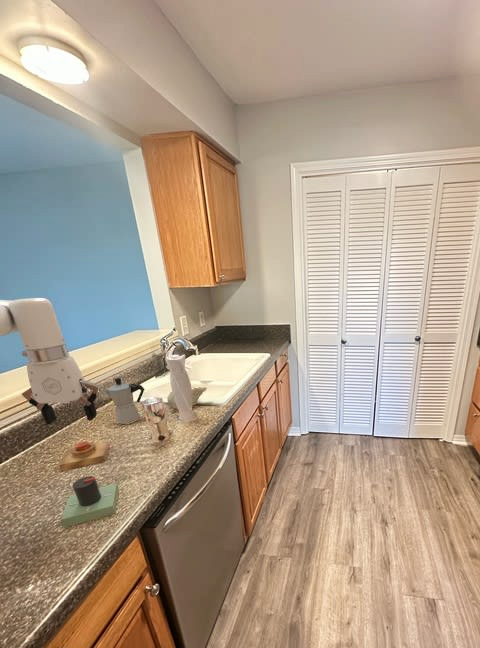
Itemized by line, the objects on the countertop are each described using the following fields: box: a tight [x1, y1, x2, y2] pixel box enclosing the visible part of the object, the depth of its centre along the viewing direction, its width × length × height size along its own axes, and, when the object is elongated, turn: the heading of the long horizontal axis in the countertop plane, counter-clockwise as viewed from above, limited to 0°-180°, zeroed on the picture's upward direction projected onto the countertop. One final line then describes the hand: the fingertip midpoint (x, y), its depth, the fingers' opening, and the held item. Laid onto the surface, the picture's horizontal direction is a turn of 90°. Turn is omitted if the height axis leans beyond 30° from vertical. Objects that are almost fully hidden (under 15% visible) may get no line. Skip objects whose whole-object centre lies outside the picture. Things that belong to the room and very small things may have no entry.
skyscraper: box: [165, 349, 197, 424], centre depth 124 cm, size 8×8×28 cm
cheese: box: [167, 386, 208, 410], centre depth 141 cm, size 15×7×15 cm
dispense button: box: [74, 440, 90, 451], centre depth 104 cm, size 4×4×2 cm
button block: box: [58, 441, 110, 472], centre depth 105 cm, size 12×10×4 cm
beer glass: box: [141, 396, 172, 444], centre depth 112 cm, size 7×7×15 cm
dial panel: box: [60, 483, 120, 529], centre depth 82 cm, size 11×10×3 cm
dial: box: [72, 475, 101, 506], centre depth 81 cm, size 5×5×6 cm
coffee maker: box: [102, 377, 146, 424], centre depth 128 cm, size 15×9×18 cm, turn 104°
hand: (72, 420), depth 81 cm, fingers open, 9 cm apart
